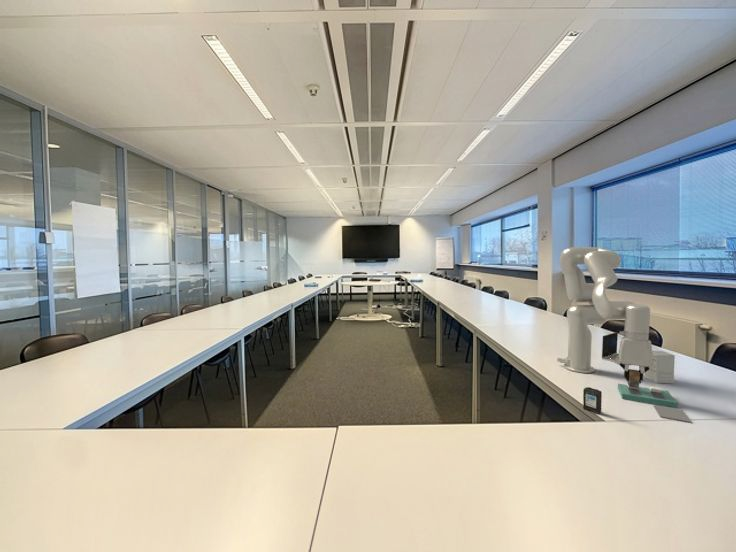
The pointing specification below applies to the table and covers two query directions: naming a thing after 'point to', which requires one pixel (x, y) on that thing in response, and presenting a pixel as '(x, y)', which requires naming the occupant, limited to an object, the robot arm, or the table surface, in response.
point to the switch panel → (647, 396)
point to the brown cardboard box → (634, 378)
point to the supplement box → (661, 368)
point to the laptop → (609, 346)
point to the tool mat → (672, 413)
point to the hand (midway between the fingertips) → (633, 380)
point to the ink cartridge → (592, 400)
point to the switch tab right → (655, 389)
